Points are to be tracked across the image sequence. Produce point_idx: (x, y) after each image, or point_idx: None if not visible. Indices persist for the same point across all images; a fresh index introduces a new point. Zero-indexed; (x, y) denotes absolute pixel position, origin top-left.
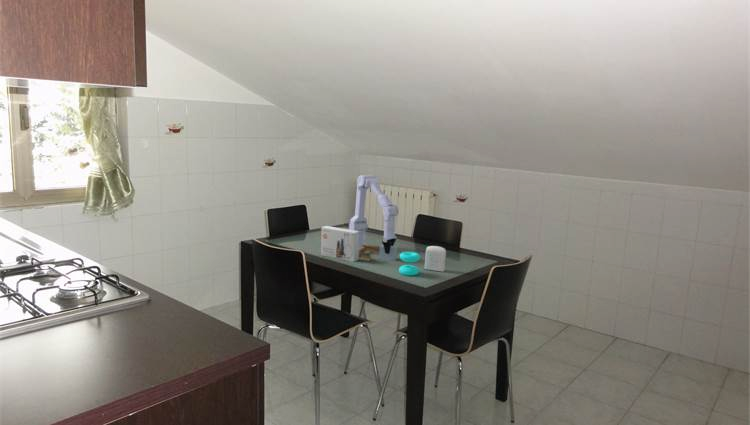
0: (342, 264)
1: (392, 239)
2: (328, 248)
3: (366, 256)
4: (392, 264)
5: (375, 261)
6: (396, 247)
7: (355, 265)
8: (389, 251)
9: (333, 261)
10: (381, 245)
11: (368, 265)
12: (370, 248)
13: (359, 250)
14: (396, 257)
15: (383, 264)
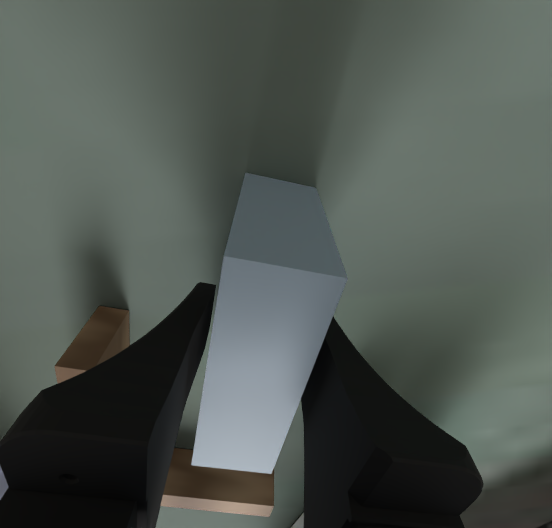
0: (488, 493)
1: (150, 487)
2: None
3: None
4: (507, 197)
5: (392, 355)
6: (282, 263)
7: (519, 445)
8: (331, 320)
9: None
10: (237, 462)
11: (527, 383)
12: None
13: (242, 503)
14: (255, 182)
15: (502, 285)
